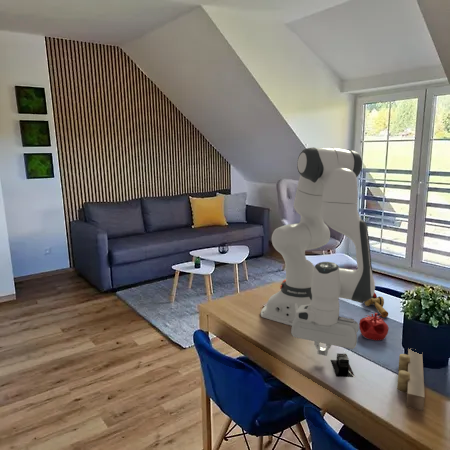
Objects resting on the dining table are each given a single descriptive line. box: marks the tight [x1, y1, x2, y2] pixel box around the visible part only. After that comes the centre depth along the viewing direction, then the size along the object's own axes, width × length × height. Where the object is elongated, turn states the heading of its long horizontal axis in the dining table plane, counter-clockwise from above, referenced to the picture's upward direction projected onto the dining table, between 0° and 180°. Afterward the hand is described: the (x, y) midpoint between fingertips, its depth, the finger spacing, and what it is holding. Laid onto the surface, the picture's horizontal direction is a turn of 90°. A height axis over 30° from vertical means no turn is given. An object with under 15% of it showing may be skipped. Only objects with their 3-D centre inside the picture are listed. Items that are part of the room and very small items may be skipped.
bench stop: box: [396, 347, 426, 412], centre depth 114 cm, size 6×26×5 cm, turn 155°
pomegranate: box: [358, 312, 390, 341], centre depth 141 cm, size 10×10×9 cm
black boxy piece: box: [330, 353, 356, 378], centre depth 121 cm, size 12×7×5 cm, turn 176°
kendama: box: [364, 291, 389, 319], centre depth 166 cm, size 8×6×18 cm
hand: (322, 354), depth 125 cm, fingers closed
